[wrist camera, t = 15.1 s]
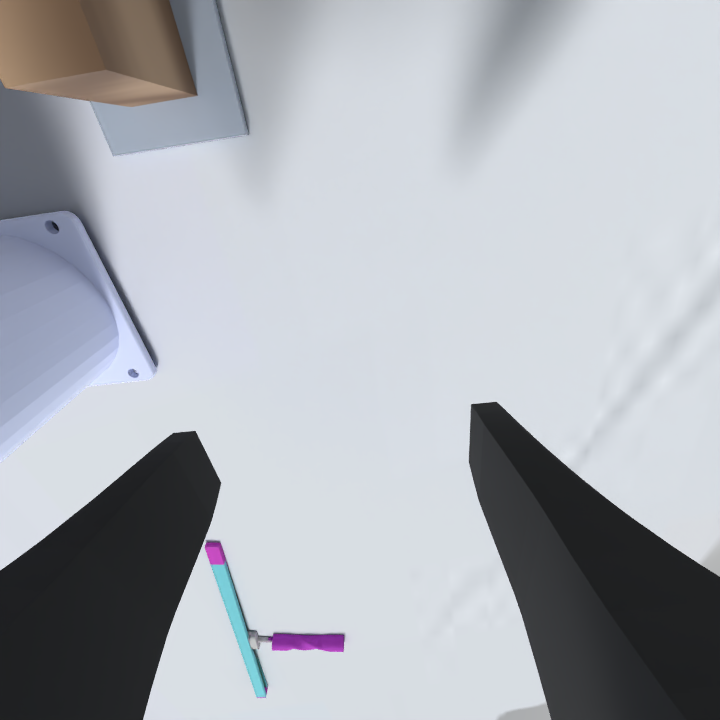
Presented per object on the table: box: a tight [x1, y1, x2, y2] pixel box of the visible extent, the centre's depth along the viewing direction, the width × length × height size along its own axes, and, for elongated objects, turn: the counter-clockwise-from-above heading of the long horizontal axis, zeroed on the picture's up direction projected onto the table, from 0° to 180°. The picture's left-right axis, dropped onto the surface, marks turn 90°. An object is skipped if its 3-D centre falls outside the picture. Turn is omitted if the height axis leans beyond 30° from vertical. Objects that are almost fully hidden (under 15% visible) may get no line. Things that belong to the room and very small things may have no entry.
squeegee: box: [205, 543, 344, 698], centre depth 34 cm, size 29×2×10 cm
